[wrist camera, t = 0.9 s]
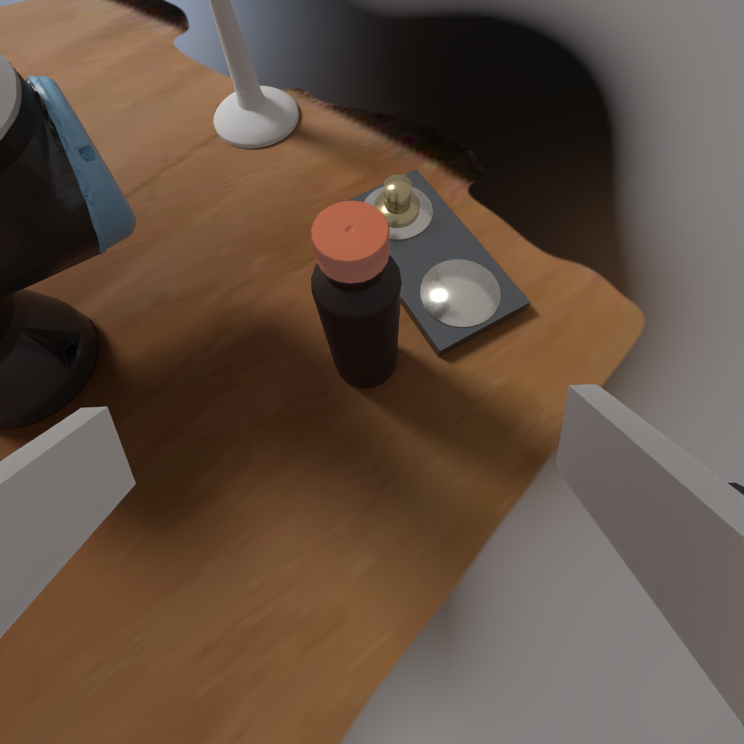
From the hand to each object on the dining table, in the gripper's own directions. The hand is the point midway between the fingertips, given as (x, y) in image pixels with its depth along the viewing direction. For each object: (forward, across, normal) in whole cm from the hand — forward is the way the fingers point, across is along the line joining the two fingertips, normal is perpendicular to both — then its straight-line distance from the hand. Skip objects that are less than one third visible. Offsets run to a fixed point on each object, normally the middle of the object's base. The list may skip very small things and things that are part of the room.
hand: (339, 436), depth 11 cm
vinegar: (+30, 0, -9) cm, 31 cm away
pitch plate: (+39, +8, +1) cm, 40 cm away
